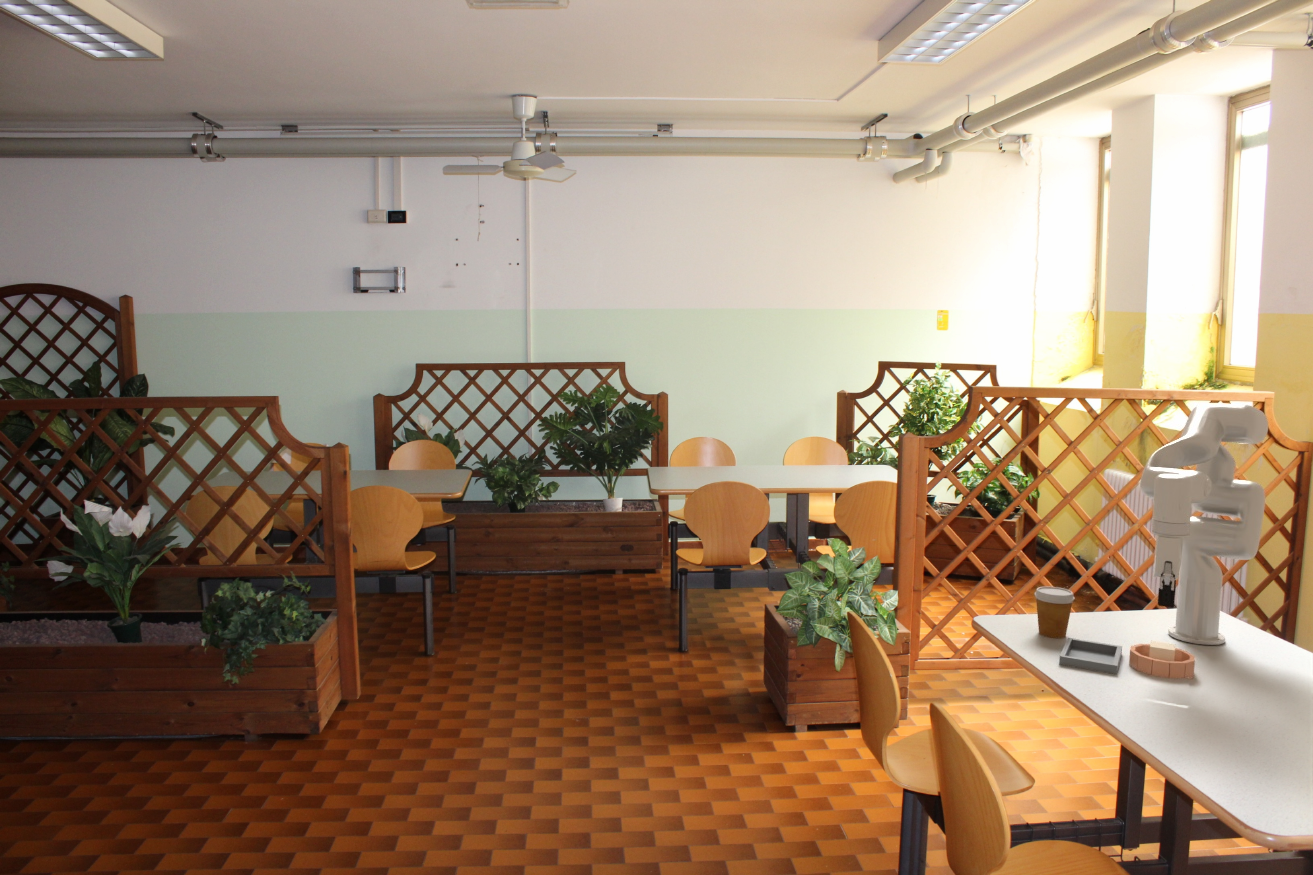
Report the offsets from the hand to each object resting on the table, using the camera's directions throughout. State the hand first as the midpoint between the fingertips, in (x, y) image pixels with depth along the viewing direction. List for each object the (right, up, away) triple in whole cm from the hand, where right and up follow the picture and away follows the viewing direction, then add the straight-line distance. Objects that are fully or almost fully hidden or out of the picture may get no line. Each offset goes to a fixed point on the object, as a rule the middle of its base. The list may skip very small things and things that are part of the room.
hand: (1166, 600), depth 206 cm
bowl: (-1, -16, +1) cm, 16 cm away
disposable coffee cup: (-15, -14, +25) cm, 33 cm away
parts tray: (-14, -16, +6) cm, 22 cm away
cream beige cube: (-1, -16, +1) cm, 16 cm away
